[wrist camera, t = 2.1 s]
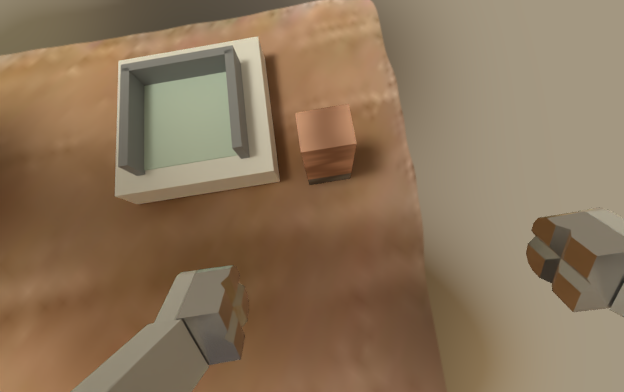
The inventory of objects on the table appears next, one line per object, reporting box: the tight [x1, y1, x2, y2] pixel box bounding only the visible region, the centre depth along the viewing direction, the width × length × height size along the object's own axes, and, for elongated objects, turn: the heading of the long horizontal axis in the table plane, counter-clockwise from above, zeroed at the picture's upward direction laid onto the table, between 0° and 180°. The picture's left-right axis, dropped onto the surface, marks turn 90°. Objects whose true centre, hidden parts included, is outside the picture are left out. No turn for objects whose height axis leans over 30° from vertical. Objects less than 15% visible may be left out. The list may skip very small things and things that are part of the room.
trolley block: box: [295, 104, 357, 185], centre depth 32 cm, size 5×4×10 cm
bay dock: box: [115, 37, 280, 204], centre depth 35 cm, size 18×18×7 cm
